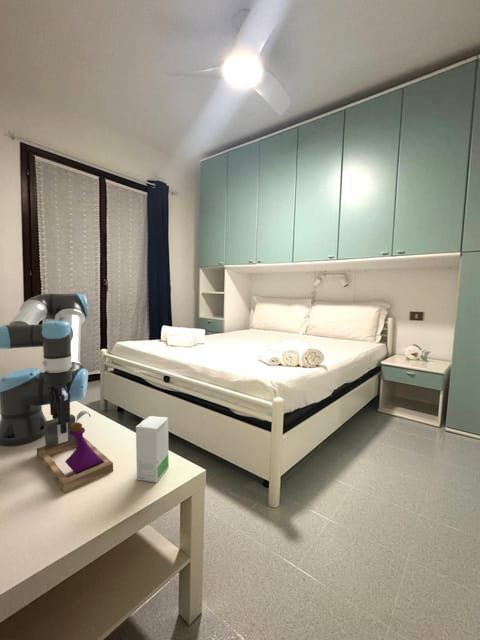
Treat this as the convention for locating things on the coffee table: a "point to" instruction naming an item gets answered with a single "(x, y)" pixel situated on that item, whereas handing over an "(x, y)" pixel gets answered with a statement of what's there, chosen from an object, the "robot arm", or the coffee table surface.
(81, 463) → the perfume bottle
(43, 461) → the strip frame
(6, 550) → the coffee table surface
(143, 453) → the skincare box
